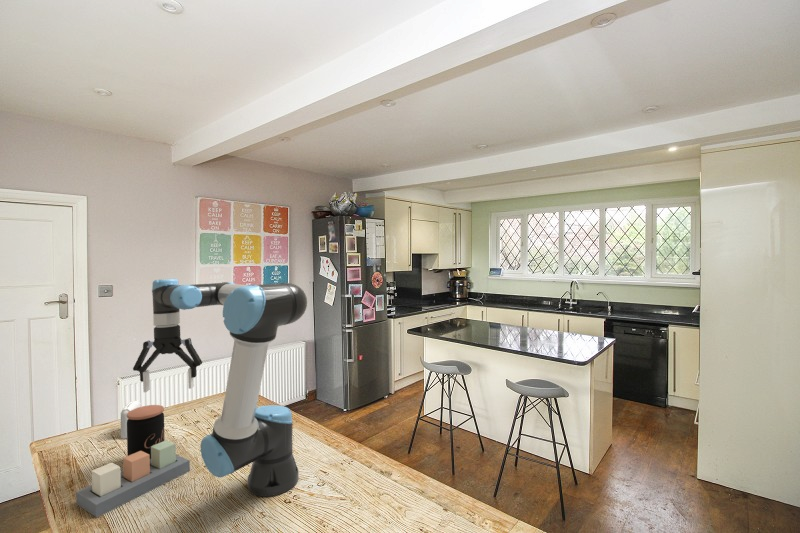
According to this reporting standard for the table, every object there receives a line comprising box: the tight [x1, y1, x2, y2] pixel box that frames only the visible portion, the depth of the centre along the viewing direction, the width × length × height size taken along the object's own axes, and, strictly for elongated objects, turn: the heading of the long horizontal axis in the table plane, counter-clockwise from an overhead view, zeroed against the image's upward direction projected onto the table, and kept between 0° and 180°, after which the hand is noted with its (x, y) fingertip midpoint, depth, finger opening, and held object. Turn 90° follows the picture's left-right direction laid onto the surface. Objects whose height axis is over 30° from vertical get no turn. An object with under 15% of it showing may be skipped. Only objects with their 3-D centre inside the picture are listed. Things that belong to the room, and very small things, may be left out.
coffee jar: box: [126, 404, 166, 459], centre depth 131 cm, size 11×11×18 cm
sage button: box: [151, 439, 177, 469], centre depth 125 cm, size 5×5×6 cm
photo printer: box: [120, 400, 142, 440], centre depth 153 cm, size 10×4×12 cm, turn 13°
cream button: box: [91, 462, 121, 497], centre depth 111 cm, size 5×5×6 cm
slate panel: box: [75, 454, 191, 518], centre depth 118 cm, size 12×26×4 cm, turn 151°
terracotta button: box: [122, 451, 150, 482], centre depth 118 cm, size 5×5×6 cm
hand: (169, 389), depth 128 cm, fingers open, 13 cm apart
